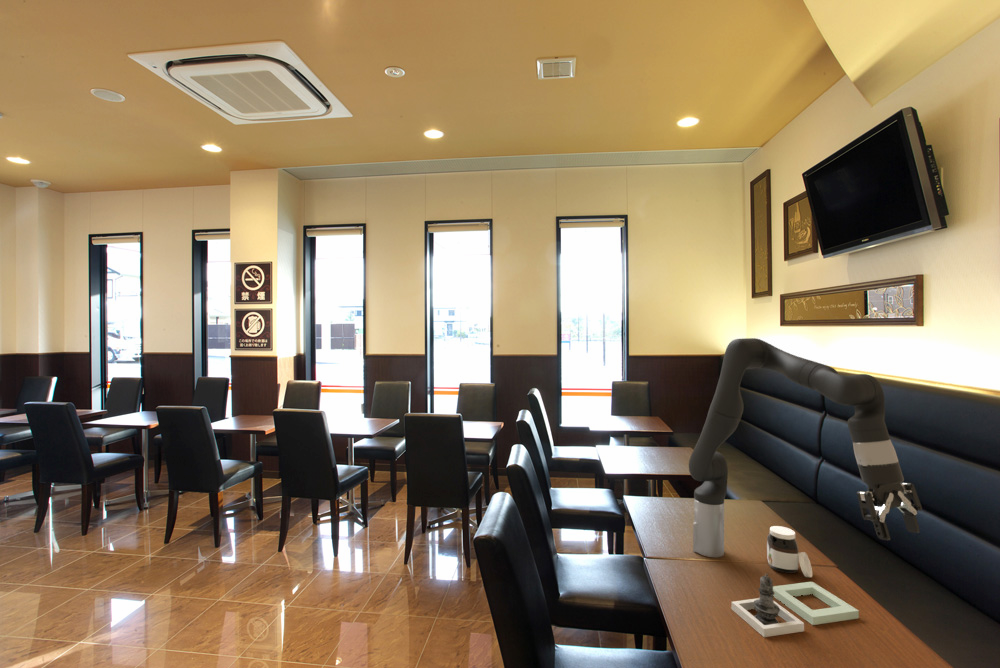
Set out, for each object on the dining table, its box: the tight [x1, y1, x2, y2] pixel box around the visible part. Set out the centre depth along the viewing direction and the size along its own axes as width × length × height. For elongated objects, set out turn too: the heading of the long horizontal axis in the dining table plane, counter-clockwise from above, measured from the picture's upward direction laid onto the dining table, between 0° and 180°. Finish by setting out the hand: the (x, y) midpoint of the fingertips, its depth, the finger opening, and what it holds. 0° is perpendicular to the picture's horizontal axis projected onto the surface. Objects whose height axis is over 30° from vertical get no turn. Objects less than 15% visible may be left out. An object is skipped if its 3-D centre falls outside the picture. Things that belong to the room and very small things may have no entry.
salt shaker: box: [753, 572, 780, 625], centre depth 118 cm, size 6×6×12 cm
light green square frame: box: [773, 581, 860, 626], centre depth 124 cm, size 14×14×2 cm
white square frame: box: [730, 597, 805, 638], centre depth 118 cm, size 11×11×2 cm
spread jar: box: [766, 525, 813, 578], centre depth 142 cm, size 12×11×12 cm
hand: (899, 535), depth 102 cm, fingers open, 8 cm apart
